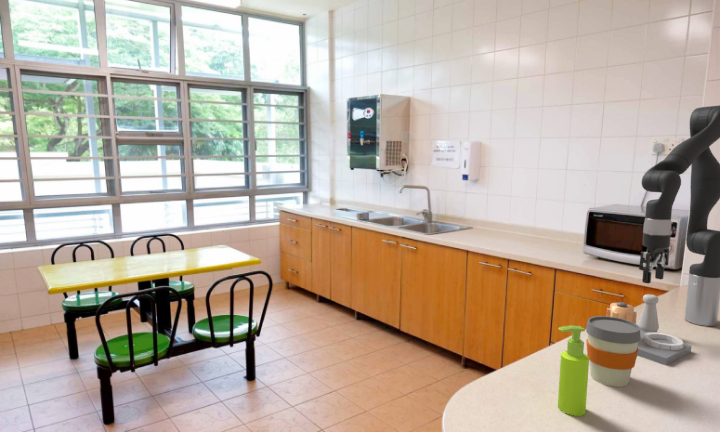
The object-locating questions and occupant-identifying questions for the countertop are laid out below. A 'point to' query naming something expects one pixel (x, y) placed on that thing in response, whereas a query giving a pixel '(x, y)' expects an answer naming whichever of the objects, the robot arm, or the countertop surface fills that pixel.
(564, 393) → the soap dispenser
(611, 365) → the reusable coffee cup
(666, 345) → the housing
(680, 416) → the countertop surface
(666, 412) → the countertop surface
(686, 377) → the countertop surface
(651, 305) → the salt shaker
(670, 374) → the countertop surface
